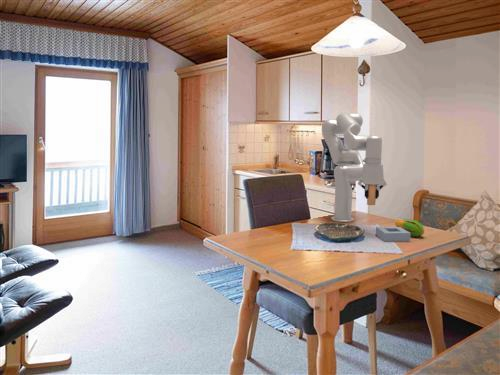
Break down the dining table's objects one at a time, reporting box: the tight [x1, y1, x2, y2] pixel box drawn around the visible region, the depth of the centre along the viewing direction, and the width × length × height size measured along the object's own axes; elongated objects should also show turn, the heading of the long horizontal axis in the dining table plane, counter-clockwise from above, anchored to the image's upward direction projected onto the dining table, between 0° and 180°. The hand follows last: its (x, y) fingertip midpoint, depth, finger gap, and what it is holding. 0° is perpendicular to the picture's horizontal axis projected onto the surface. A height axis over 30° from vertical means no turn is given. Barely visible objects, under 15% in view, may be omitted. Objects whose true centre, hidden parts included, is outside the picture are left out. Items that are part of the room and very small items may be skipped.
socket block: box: [375, 226, 411, 243], centre depth 203 cm, size 12×12×4 cm
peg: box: [366, 185, 376, 206], centre depth 211 cm, size 4×4×12 cm
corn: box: [394, 217, 425, 238], centre depth 212 cm, size 7×8×20 cm
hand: (371, 197), depth 211 cm, fingers closed on peg, 4 cm apart
